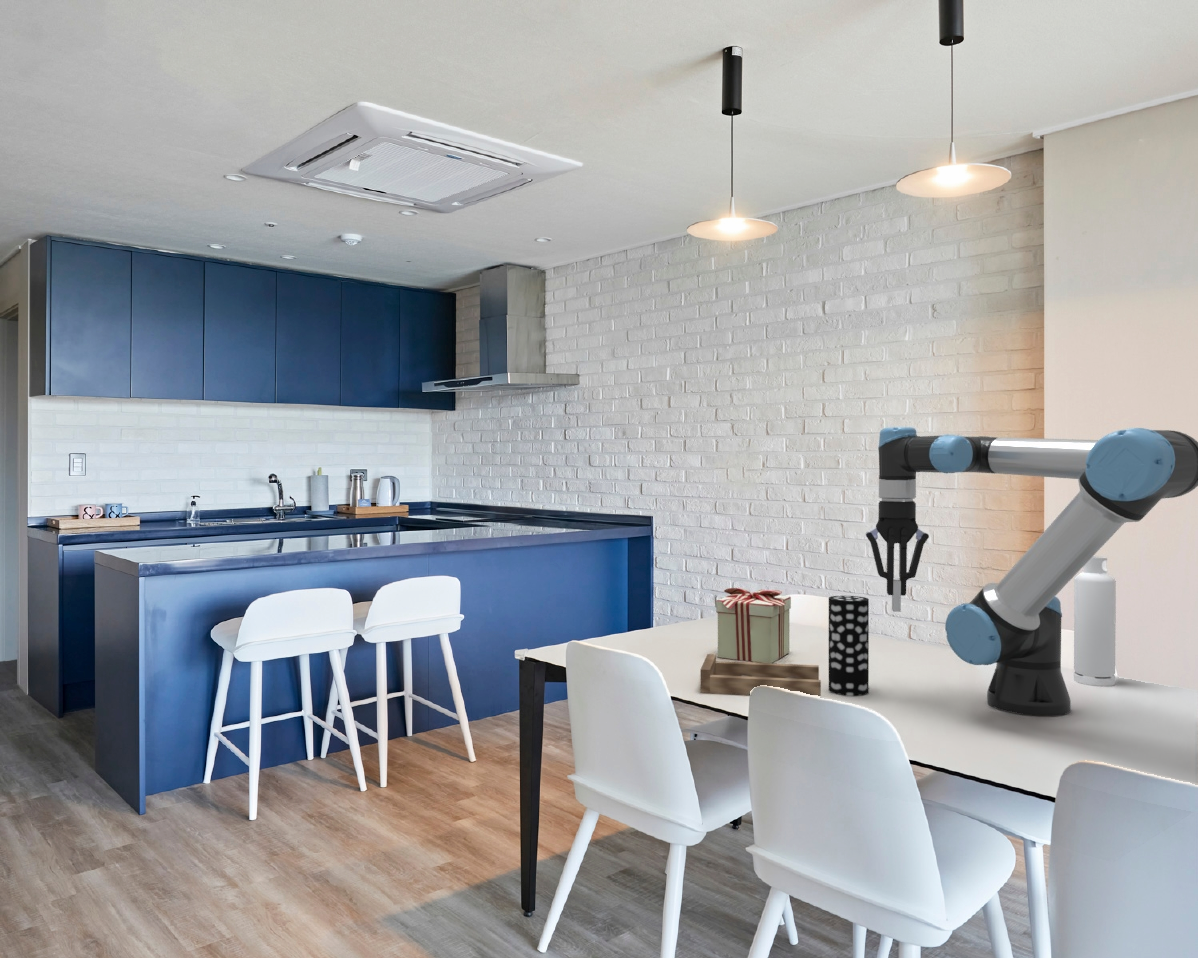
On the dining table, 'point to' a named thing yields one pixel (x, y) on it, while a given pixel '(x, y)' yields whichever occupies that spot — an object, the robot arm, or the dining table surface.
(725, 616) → the gift box
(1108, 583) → the bottle
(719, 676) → the cradle
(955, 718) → the dining table surface
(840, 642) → the spotted tube
